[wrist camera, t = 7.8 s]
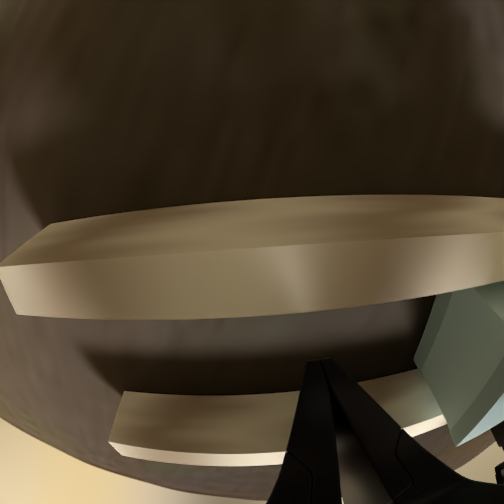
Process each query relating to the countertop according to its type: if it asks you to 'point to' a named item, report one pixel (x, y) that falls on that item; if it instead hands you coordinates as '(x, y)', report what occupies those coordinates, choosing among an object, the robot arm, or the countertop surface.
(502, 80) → the countertop surface
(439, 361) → the pale teal block
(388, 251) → the lane
